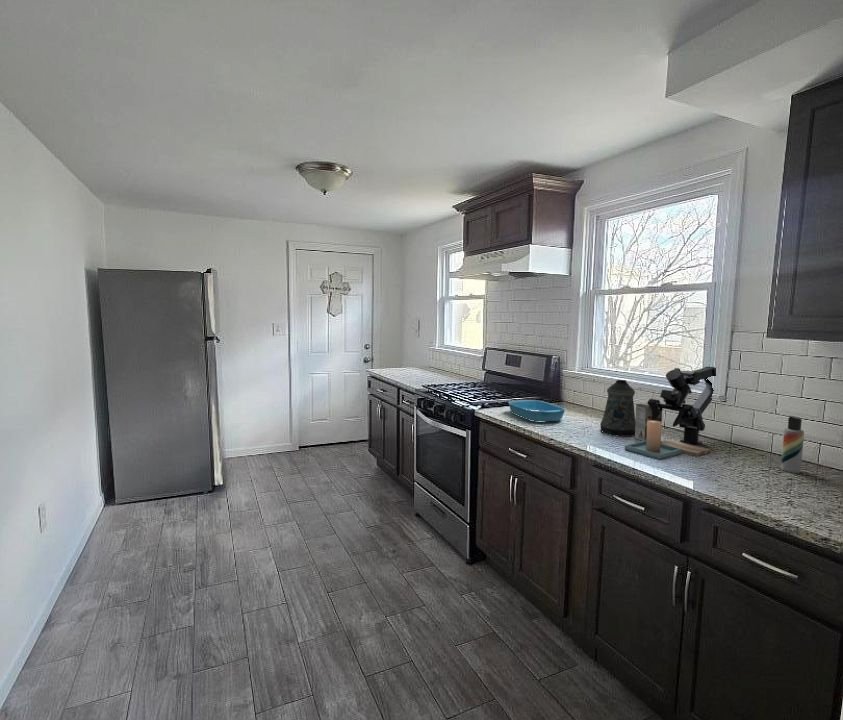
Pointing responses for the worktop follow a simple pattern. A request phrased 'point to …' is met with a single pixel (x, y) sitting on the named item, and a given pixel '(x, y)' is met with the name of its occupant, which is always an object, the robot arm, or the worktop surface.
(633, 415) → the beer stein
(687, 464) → the worktop surface
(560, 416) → the casserole dish
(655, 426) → the tan glossy round part
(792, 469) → the lotion bottle
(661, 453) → the tray
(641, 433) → the coffee box
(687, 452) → the tan board
